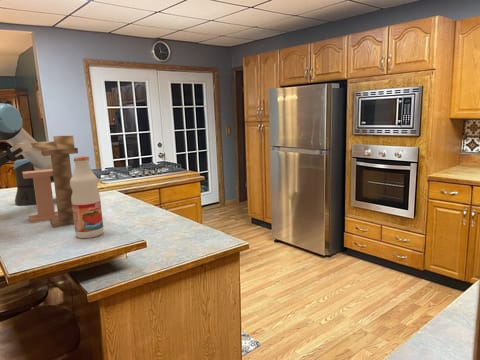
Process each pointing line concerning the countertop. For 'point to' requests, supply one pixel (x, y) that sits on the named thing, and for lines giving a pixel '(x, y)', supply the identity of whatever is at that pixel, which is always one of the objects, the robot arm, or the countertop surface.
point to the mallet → (52, 144)
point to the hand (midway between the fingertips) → (29, 143)
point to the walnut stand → (62, 184)
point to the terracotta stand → (42, 195)
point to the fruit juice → (85, 200)
